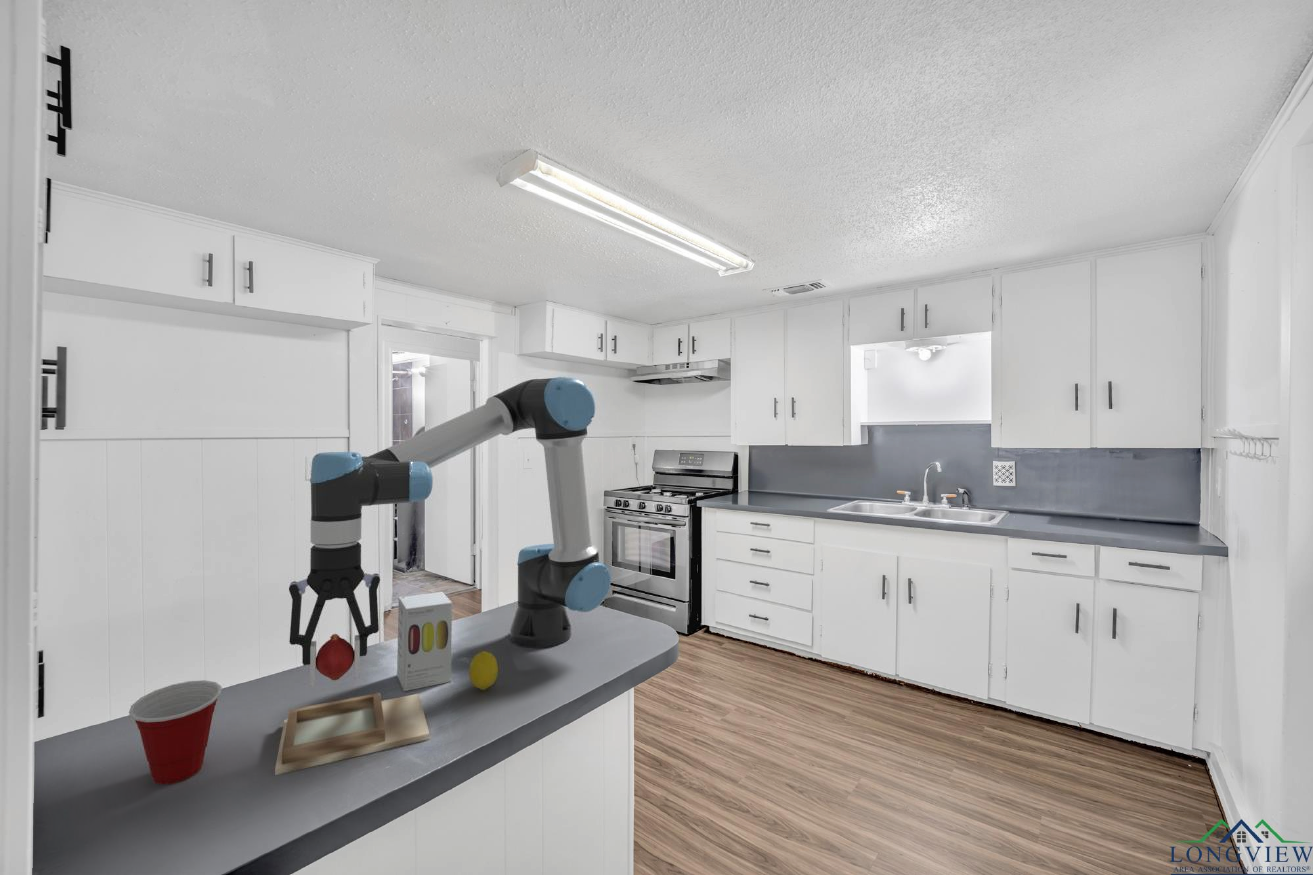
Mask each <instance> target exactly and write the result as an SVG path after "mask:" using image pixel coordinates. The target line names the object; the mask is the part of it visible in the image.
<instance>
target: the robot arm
mask: <svg viewBox="0 0 1313 875" xmlns="http://www.w3.org/2000/svg"><path fill="white" fill-rule="evenodd" d="M595 413H596V402H595V398H594V396H593V394H592V391H591V390H590V388H589V387H588V386H587V385H586V384H585V383H584V382H583V381H581V380H579V379H577V378H573V377H567V376H563V377H562V376H558V377H552V378H551V377H549V378H534V379H533V378H532V379H527V380H525V381H522V382H520V383H517V384H515V385H514V386H512V387H509V388H507V389H504V390H503V391H501V392H499V393H496V394H495V395H492V396H490V397H488V398H487V399H486V401H485V404H483V405H481V406H478V407H476V408H474V409H472V410H470V411H467V412H465V413H463V414H461V415H459V416H456V417H454V418H452V419H450V420H447V421H445V422H443V423H440V424H439V425H435V426H434V427H432V428H429V429H427V430H425V431H422V432H420V433H418V434H416V435H414V436H412V437H409V438H408V439H404V440H402V441H400V442H398V443H396V444H394V445H391V446H389V447H386V448H385V449H382V450H380V451H378V452H376V453H373V454H371V455H369V456H362V454H361V453H360V452H354V451H352V452H351V451H326V452H324V451H323V452H319V453H316V454H315V455H314V456H313V457H312V461H311V469H310V470H311V471H310V479H309V482H310V510H311V511H310V513H311V514H310V543H311V544H312V546H311V548H310V556H309V557H310V559H309V562H310V563H309V564H310V565H309V566H310V570H309V573H308V575H307V578H304V579H302V580H300V581H296V580H295V581H292V582H290V584H289V587H288V591H289V594H290V597H291V600H292V601H291V614H290V628H289V644H290V645H292V646H293V645H294V646H295V645H299V646H301V647H302V648H301V649H302V653H301V654H302V655H301V656H302V661H301V662H302V664H303V666H308V665H309V667H310V668H309V671H310V674H309V676H310V677H309V682H310V683H309V686H310V687H311V686H316V684H317V668H316V657H317V640H313V638H314V635H315V632H316V629H317V627H318V624H319V621H320V618H321V615H322V612H323V609H324V607H325V605H326V601H330V600H334V599H345V600H346V602H347V605H348V608H349V610H350V613H351V614H350V615H351V617H352V619H353V622H354V624H355V627H356V630H357V634H354V642H353V643H354V646H353V649H354V654H355V657H354V662H353V672H354V673H353V675H354V679H358V678H360V673H361V672H360V669H361V668H360V662H361V661H360V659H361V658H360V657H365V656H367V655H368V654H367V653H368V638H369V637H370V636H371V635H373V634H377V633H378V632H379V629H380V628H379V626H380V625H379V609H378V608H379V605H378V604H379V603H378V589H379V584H380V582H381V577H380V575H379V573H372V574H371V573H365V572H364V569H363V568H362V544H361V543H360V542H359V541H360V540H361V539H362V515H363V514H362V513H363V512H362V509H363V507H371V506H378V505H379V506H380V505H390V504H391V505H392V504H393V505H394V504H406V503H408V504H411V503H415V502H416V503H417V502H423V501H425V500H426V499H428V497H429V496H430V495H431V493H432V490H433V484H434V483H433V481H434V480H433V478H434V477H433V473H432V470H431V469H432V468H434V467H436V466H438V465H440V464H442V463H444V462H446V461H448V460H451V458H454V457H456V456H458V455H460V454H462V453H464V452H466V451H468V450H471V449H473V448H475V447H477V446H478V445H480V444H483V443H484V442H486V441H488V440H491V439H493V438H495V437H497V436H499V435H503V436H508V435H511V434H512V433H514V432H515V433H516V432H517V431H521V430H527V429H534V432H535V439H536V442H538V443H539V444H540V445H542V446H543V452H544V453H543V454H544V460H545V470H546V482H547V490H548V498H549V499H548V501H549V509H550V519H551V529H552V531H551V532H552V536H553V537H552V540H553V543H546V544H536V545H530V546H526V547H523V548H521V549H520V550H519V553H518V557H517V563H516V565H517V608H516V611H515V615H514V618H513V620H512V623H511V627H510V629H509V630H510V631H509V639H510V641H511V642H512V643H513V644H514V645H517V646H520V647H524V648H525V647H526V648H547V647H552V646H557V645H559V644H563V643H565V642H567V641H568V640H569V639H570V638H571V636H572V625H571V621H570V618H569V614H568V612H567V609H566V608H568V610H570V611H575V612H576V611H577V612H581V613H587V612H591V611H593V610H595V609H597V608H598V607H600V605H601V604H603V602H604V600H605V598H606V597H607V595H608V594H609V591H610V588H611V582H612V581H611V580H612V579H611V578H612V577H611V573H610V570H609V568H608V567H607V566H606V565H605V564H604V563H602V562H600V555H599V554H600V553H599V548H598V547H597V546H596V545H595V544H594V543H592V541H591V540H592V539H591V528H590V520H589V518H590V517H589V510H588V508H589V507H588V499H587V488H586V486H587V485H586V476H585V468H584V467H585V465H584V457H583V456H584V455H583V445H582V444H583V441H584V439H585V438H586V437H587V436H588V428H587V427H588V426H590V424H591V423H592V421H593V420H592V419H593V418H595ZM362 581H364V582H365V583H364V585H365V587H366V588H368V600H369V601H368V602H369V603H368V605H369V618H370V619H369V620H370V622H369V623H370V624H369V625H367V626H366V623H365V620H364V618H363V616H362V615H363V614H362V612H361V609H360V606H359V603H358V601H357V597H356V594H355V591H356V589H357V587H358V586H360V584H361V582H362ZM308 586H309V587H310V589H312V590H313V592H314V594H316V595H317V596H316V600H315V603H314V606H313V610H312V612H311V615H310V617H309V620H308V624H307V626H306V630H305V632H304V634H301V633H300V631H301V630H300V628H301V617H302V616H301V614H302V612H301V611H302V600H303V596H302V595H304V594H305V593H306V591H307V590H306V588H307V587H308Z"/></svg>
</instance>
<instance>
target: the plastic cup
mask: <svg viewBox="0 0 1313 875" xmlns="http://www.w3.org/2000/svg"><path fill="white" fill-rule="evenodd" d="M221 694H222V685H220V683H218V682H216V681H211V680H205V679H204V680H188V681H184V682H179V683H174V684H169V685H167V686H164V687H161V688H158V689H155V690H152V692H149V693H148V694H145V695H143V696H142V697H140V698H139V699H137V700H136V701H135V702H134V703H132V704H131V706H130V709H129V711H128V714H129V716H130V717H131V718H132V719H133V720H134V722H135V724H136V727H137V728H138V730H139V733H140V739H141V741H142V746H143V750H144V754H145V758H146V761H147V762H148V767H149V771H150V775H151V776H150V777H151V778H152V779H153V782H154V783H155V784H157V785H172V784H175V783H179V782H180V783H181V782H182V781H185V780H187V779H190V778H191V777H193V776H196V774H198V773H199V772H200V770H201V769H202V767H203V765H204V759H205V754H206V748H207V747H208V742H209V737H210V731H211V726H212V721H213V715H214V712H215V708H216V705H217V701H218V699H219V698H220V697H221Z"/></svg>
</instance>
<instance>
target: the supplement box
mask: <svg viewBox="0 0 1313 875" xmlns="http://www.w3.org/2000/svg"><path fill="white" fill-rule="evenodd" d="M397 605H398V607H397V608H398V609H397V610H398V615H397V653H396V654H397V656H396V658H397V664H396V665H397V666H396V668H397V669H396V676H397V678H398V681H399V683H400V685H401V687H402V688H401V689H402V691H403V692H407V691H413V690H419V689H421V688H426V687H432V686H436V685H441V684H445V683H450V682H451V680H452V674H451V673H452V636H453V635H452V634H453V628H452V627H453V602H452V600H450V598H449V597H448V596H447V595H446V594H445V593H444V592H443V591H438V592H430V593H422V594H415V595H414V594H413V595H407V596H398V604H397Z"/></svg>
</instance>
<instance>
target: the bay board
mask: <svg viewBox="0 0 1313 875" xmlns="http://www.w3.org/2000/svg"><path fill="white" fill-rule="evenodd" d="M281 731H282V732H281V736H280V737H281V738H280V742H279V746H278V753H277V757H276V763H275V767H274V774H275V775H274V776H278V775H282V774H285V773H286V774H287V773H290V772H295V771H299V770H303V769H308V768H312V767H316V766H320V765H321V766H322V765H325V764H329V763H335V762H338V761H341V760H347V759H350V758H355V757H359V756H363V755H367V754H372V753H377V752H380V751H384V750H388V749H394V748H398V747H402V746H406V745H409V744H414V743H420V742H423V741H428V740H430V731H429V727H428V723H427V720H426V716H425V712H424V708H423V705H422V701H421V697H420V693H415V694H410V695H405V696H404V695H403V696H399V697H394V698H390V699H389V698H388V699H384V700H382V696H381V692H376V693H370V694H365V695H361V696H355V697H349V698H345V699H341V700H340V699H339V700H334V701H329V702H325V703H318V704H313V705H308V706H302V707H298V708H292V709H291V708H290V709H289V712H288V717H287V719H284V721H283V727H282V730H281Z"/></svg>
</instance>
